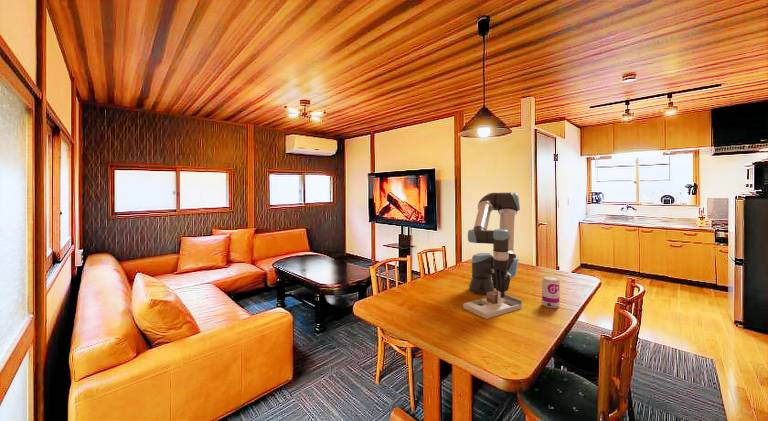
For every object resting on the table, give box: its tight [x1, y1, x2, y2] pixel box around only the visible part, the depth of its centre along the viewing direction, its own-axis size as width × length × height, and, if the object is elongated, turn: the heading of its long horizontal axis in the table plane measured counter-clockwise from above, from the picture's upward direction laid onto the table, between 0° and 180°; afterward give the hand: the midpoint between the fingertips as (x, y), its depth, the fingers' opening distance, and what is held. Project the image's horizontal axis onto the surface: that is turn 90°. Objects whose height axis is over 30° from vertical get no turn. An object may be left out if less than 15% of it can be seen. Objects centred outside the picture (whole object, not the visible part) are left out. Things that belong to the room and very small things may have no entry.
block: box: [486, 290, 498, 304], centre depth 164 cm, size 5×5×5 cm
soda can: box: [541, 276, 561, 309], centre depth 163 cm, size 8×8×15 cm
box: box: [462, 293, 523, 320], centre depth 162 cm, size 26×16×4 cm, turn 118°
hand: (500, 302), depth 160 cm, fingers closed
